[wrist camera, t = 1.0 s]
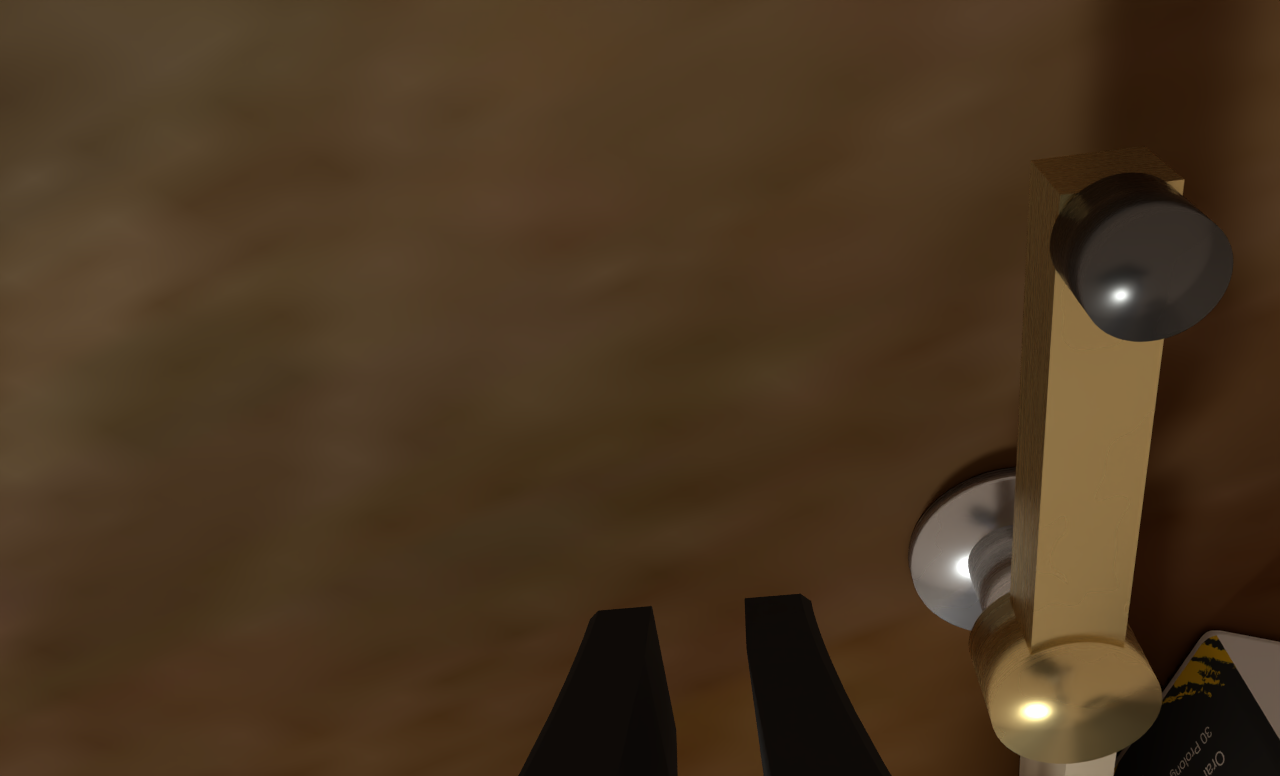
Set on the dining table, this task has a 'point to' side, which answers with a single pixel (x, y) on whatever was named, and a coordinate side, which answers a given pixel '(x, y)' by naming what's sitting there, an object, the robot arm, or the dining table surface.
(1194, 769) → the medicine bottle
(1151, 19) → the dining table surface
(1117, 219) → the brass drawer handle
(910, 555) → the pivot post
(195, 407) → the dining table surface
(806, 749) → the robot arm
